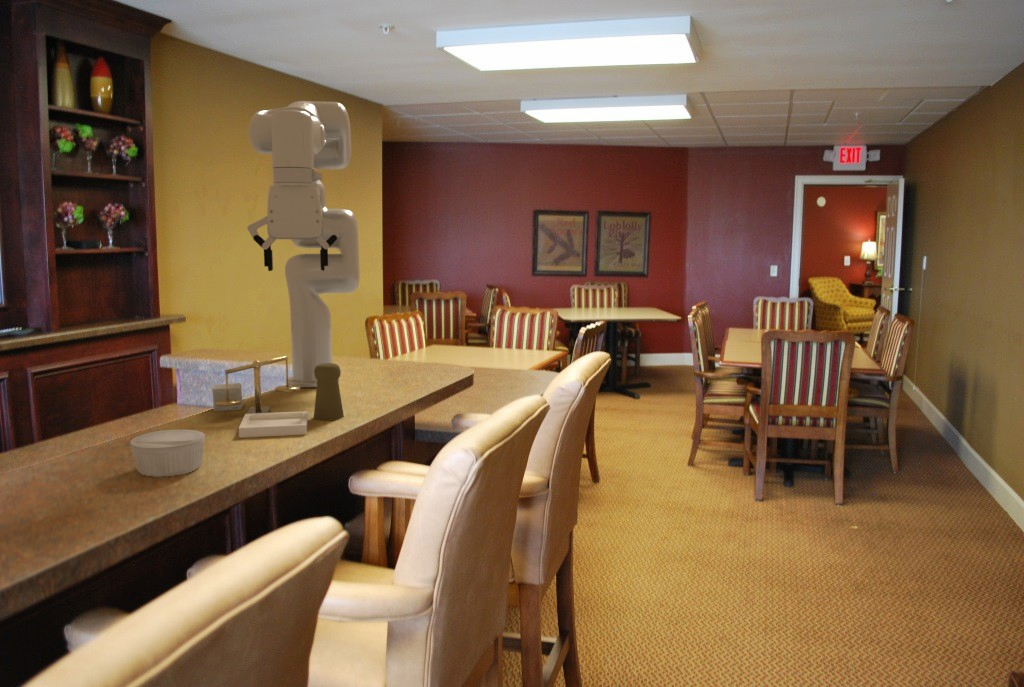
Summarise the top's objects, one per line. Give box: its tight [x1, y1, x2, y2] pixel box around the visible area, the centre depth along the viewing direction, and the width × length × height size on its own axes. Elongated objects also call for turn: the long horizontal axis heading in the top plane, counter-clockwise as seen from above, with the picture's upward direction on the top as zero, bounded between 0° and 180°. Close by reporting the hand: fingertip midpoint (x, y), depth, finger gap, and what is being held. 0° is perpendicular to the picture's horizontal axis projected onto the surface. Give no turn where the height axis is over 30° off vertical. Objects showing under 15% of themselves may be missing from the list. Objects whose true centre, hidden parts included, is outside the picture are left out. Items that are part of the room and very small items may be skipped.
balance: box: [215, 355, 301, 414], centre depth 172 cm, size 6×17×12 cm, turn 102°
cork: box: [313, 362, 345, 421], centre depth 171 cm, size 6×6×11 cm
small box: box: [212, 382, 243, 412], centre depth 180 cm, size 6×6×5 cm
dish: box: [238, 410, 309, 439], centre depth 162 cm, size 12×12×2 cm
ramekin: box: [129, 429, 206, 478], centre depth 135 cm, size 11×11×5 cm
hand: (296, 270), depth 161 cm, fingers open, 9 cm apart
